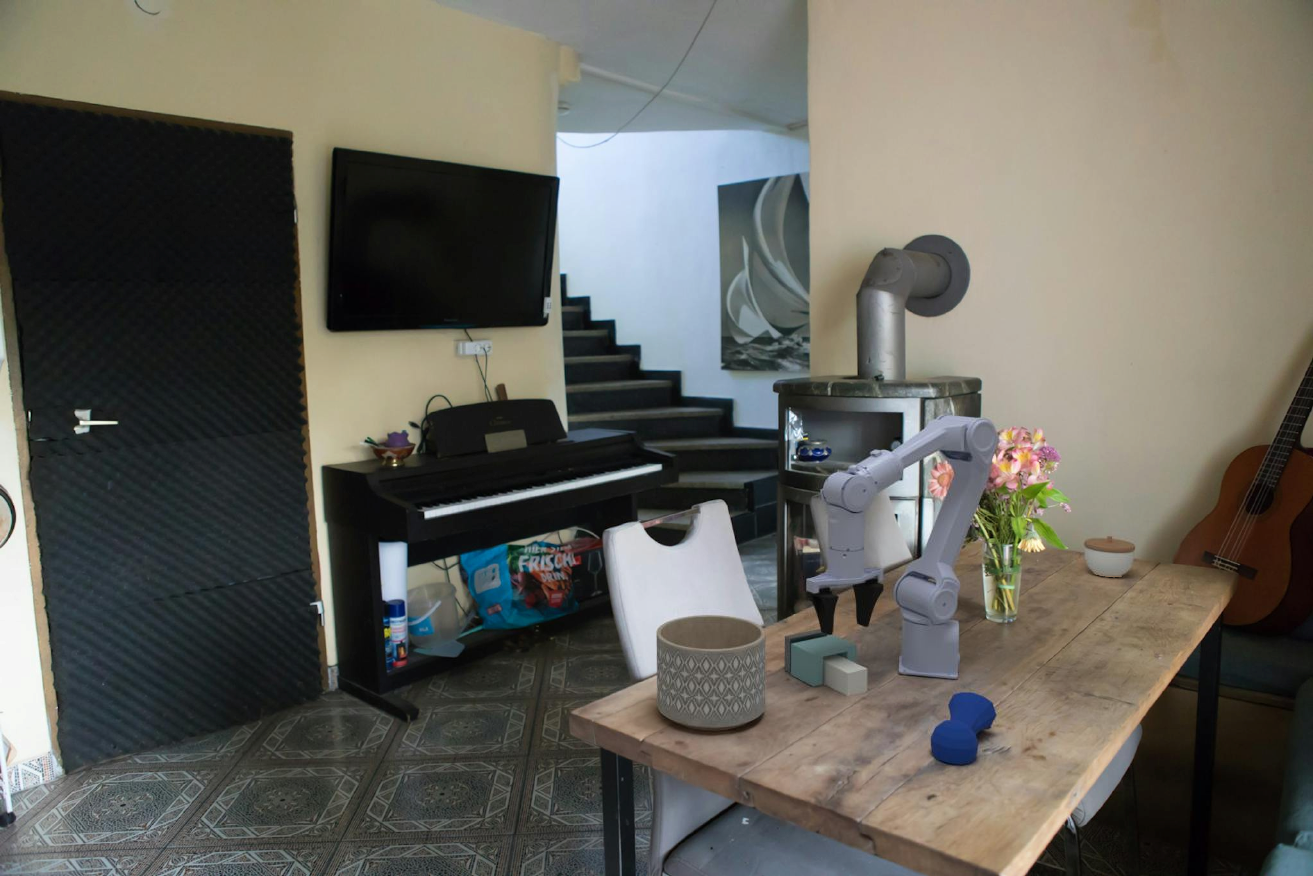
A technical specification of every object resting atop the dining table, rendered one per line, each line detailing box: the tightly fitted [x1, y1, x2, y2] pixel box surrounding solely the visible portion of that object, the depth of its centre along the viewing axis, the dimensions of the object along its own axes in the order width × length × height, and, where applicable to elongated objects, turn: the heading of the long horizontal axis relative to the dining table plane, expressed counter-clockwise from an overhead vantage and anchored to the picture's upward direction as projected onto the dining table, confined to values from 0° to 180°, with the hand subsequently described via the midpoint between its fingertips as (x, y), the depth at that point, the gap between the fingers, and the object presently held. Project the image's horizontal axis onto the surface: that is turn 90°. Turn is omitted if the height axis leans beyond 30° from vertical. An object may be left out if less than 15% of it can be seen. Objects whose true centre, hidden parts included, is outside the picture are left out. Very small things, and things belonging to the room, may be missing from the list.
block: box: [790, 634, 858, 687], centre depth 149 cm, size 6×9×5 cm, turn 118°
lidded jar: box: [1083, 535, 1136, 575], centre depth 210 cm, size 11×11×9 cm
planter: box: [656, 614, 766, 732], centre depth 135 cm, size 16×16×13 cm
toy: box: [930, 691, 997, 766], centre depth 124 cm, size 7×6×15 cm
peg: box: [823, 654, 868, 697], centre depth 146 cm, size 10×4×4 cm, turn 28°
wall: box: [784, 628, 828, 674], centre depth 153 cm, size 2×8×6 cm, turn 118°
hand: (845, 629), depth 144 cm, fingers open, 7 cm apart
